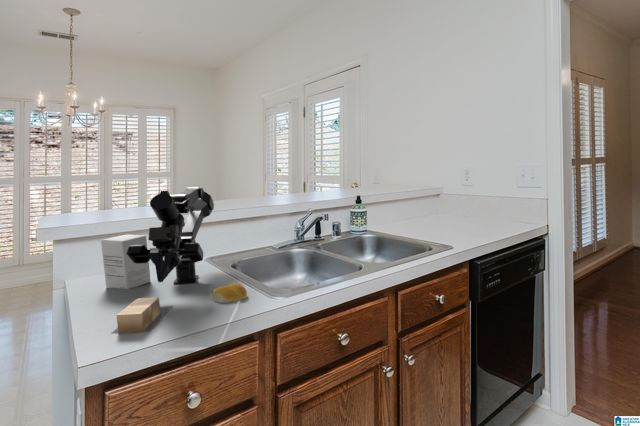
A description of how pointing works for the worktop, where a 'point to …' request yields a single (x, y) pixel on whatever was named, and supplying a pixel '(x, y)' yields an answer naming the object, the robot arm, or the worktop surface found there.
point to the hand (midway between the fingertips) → (159, 281)
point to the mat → (162, 313)
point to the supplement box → (123, 262)
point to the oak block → (138, 315)
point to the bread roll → (229, 293)
